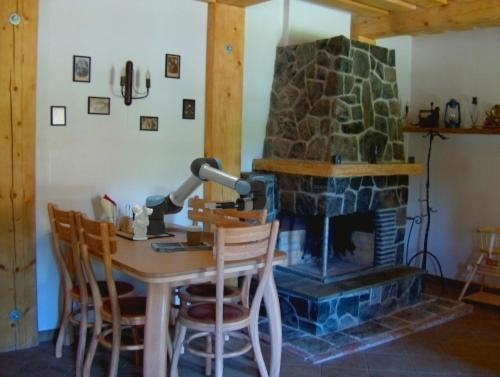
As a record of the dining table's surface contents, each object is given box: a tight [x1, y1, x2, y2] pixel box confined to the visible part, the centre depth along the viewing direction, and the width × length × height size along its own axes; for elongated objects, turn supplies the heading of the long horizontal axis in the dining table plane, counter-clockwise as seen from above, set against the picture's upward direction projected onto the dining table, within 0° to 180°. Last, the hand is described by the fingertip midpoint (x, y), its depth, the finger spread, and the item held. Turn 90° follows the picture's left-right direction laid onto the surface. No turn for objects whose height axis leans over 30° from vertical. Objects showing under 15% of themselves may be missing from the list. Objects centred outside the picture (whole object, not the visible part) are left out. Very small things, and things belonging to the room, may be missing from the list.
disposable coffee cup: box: [185, 224, 203, 247], centre depth 323 cm, size 10×10×12 cm
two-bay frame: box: [150, 240, 213, 253], centre depth 322 cm, size 20×31×2 cm, turn 109°
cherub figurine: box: [131, 203, 153, 241], centre depth 344 cm, size 12×12×22 cm
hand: (207, 206), depth 325 cm, fingers open, 13 cm apart
